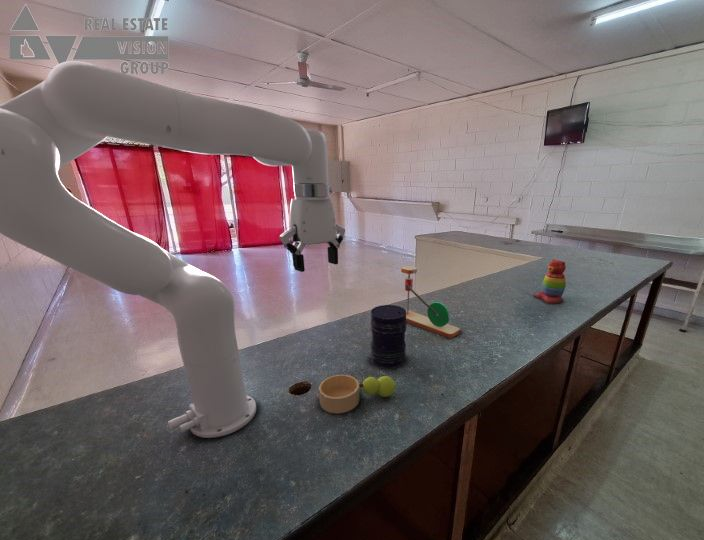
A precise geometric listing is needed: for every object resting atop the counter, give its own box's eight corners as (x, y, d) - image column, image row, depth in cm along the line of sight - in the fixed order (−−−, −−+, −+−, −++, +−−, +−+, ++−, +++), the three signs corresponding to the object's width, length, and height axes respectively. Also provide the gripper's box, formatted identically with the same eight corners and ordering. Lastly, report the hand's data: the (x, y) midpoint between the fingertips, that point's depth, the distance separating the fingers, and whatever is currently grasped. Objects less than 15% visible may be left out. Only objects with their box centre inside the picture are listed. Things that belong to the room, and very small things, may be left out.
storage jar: (367, 366, 87) (366, 317, 82) (374, 349, 96) (374, 303, 91) (402, 370, 86) (404, 320, 81) (407, 352, 95) (409, 306, 90)
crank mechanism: (394, 317, 119) (395, 267, 112) (405, 312, 124) (407, 264, 117) (450, 338, 104) (455, 283, 97) (461, 332, 109) (466, 278, 102)
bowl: (337, 419, 68) (336, 404, 66) (312, 401, 73) (310, 386, 72) (367, 399, 74) (367, 385, 73) (342, 383, 80) (341, 370, 78)
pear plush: (398, 397, 73) (361, 395, 70) (390, 397, 77) (355, 396, 74) (398, 375, 75) (362, 373, 71) (391, 377, 79) (356, 375, 76)
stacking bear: (532, 295, 146) (539, 258, 140) (550, 294, 149) (558, 257, 143) (549, 304, 137) (558, 264, 130) (568, 302, 139) (577, 262, 133)
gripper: (332, 191, 79) (335, 258, 85) (266, 191, 66) (275, 270, 72) (352, 192, 74) (354, 263, 80) (285, 193, 62) (294, 277, 68)
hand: (317, 266), depth 76 cm, fingers open, 9 cm apart
